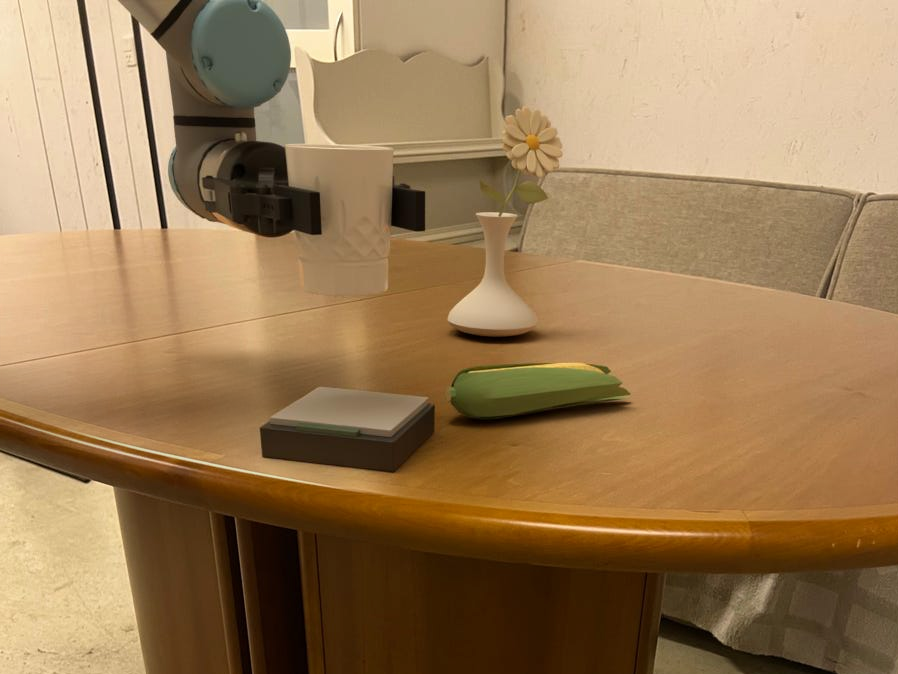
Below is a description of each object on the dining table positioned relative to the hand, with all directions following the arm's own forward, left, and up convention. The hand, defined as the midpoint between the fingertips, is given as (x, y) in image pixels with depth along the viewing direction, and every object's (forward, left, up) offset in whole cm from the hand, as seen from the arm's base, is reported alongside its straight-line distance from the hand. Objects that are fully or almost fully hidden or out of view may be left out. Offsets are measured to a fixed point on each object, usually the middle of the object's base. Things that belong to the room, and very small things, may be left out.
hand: (369, 212), depth 66 cm
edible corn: (+19, +2, -18) cm, 27 cm away
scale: (-1, +3, -18) cm, 18 cm away
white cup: (0, +5, -6) cm, 8 cm away
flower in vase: (+37, +32, -18) cm, 52 cm away
